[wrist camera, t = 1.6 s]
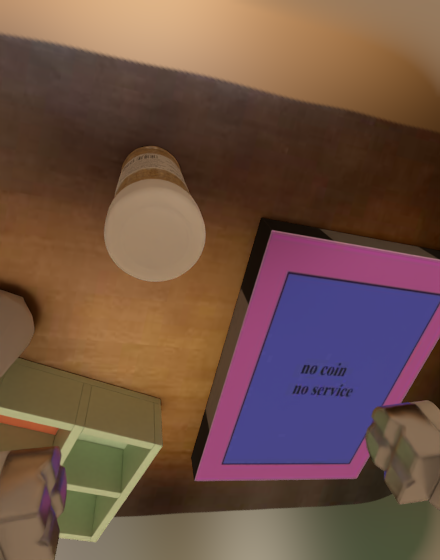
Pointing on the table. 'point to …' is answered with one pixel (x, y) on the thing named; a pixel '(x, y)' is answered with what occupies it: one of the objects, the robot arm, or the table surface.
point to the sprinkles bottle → (153, 218)
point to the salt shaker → (13, 328)
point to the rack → (82, 438)
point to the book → (316, 353)
